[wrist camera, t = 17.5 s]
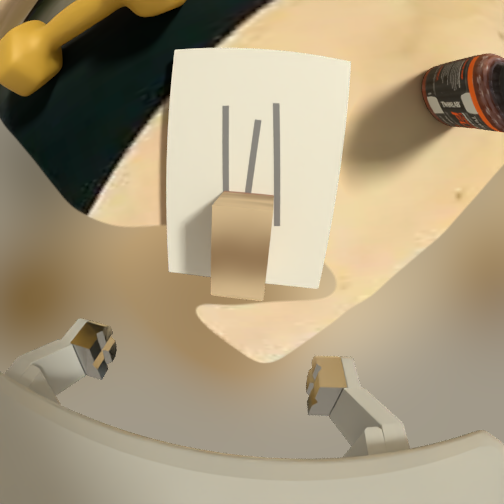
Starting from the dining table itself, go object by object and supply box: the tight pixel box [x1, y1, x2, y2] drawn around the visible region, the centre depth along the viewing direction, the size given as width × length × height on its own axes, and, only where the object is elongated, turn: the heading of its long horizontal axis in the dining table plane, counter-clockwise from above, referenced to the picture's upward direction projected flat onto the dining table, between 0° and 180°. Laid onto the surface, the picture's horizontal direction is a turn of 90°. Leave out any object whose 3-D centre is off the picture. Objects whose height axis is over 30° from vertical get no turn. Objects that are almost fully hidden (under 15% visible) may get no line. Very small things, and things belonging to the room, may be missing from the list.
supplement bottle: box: [422, 54, 504, 132], centre depth 13 cm, size 6×6×11 cm
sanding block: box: [211, 191, 274, 301], centre depth 22 cm, size 7×4×4 cm, turn 176°
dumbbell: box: [0, 0, 186, 96], centre depth 14 cm, size 19×9×8 cm, turn 104°
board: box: [166, 48, 351, 289], centre depth 22 cm, size 20×14×2 cm
